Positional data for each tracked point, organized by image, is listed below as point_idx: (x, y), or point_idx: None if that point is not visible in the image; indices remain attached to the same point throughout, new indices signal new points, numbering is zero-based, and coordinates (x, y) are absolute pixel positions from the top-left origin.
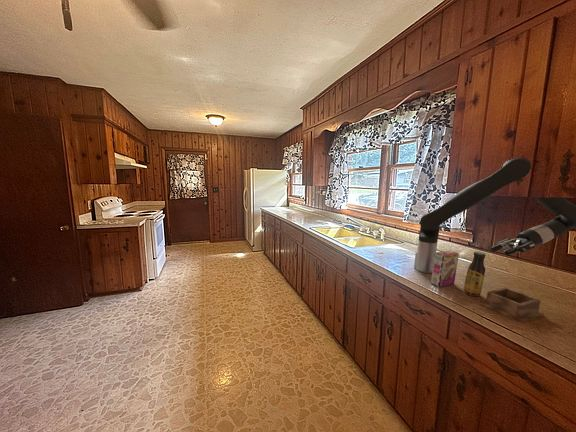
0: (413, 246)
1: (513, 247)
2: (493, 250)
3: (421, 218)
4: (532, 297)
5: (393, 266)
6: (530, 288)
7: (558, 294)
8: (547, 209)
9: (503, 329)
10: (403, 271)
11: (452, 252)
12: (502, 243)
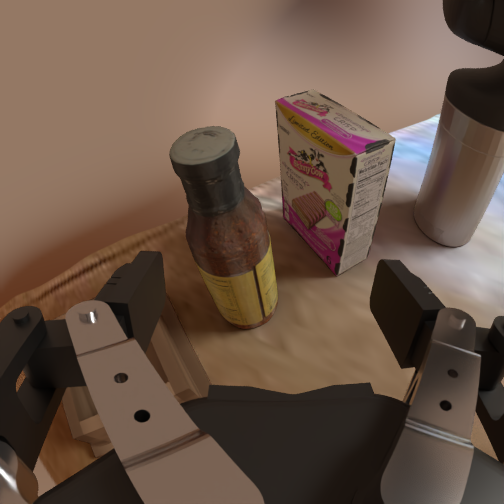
0: None
1: (96, 301)
2: (376, 296)
3: None
4: (89, 424)
5: (421, 151)
6: None
7: None
8: None
9: (56, 277)
10: (391, 163)
11: (352, 133)
12: (435, 339)
